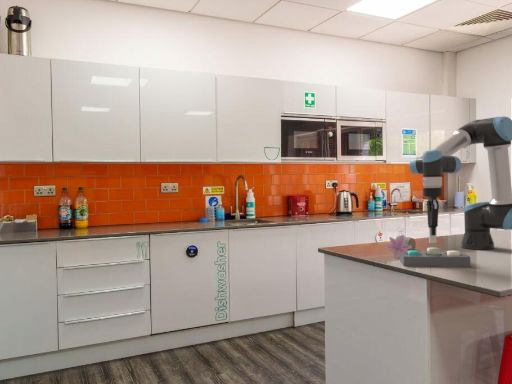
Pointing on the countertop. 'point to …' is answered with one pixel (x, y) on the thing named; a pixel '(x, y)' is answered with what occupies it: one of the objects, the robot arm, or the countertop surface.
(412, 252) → the teal button
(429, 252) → the sage button
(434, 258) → the console
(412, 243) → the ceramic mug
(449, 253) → the cream button
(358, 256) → the countertop surface
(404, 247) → the lily
